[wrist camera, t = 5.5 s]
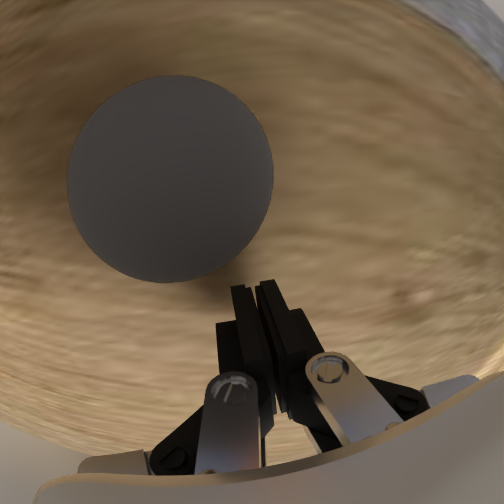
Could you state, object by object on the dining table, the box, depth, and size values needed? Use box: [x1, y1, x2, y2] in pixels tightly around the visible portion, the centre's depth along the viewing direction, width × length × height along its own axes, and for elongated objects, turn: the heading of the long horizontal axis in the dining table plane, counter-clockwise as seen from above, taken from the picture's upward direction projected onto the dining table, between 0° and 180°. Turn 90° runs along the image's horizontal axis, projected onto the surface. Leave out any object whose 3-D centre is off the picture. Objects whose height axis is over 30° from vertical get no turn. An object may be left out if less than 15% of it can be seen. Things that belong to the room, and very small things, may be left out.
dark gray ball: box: [67, 76, 273, 283], centre depth 7 cm, size 6×6×6 cm
